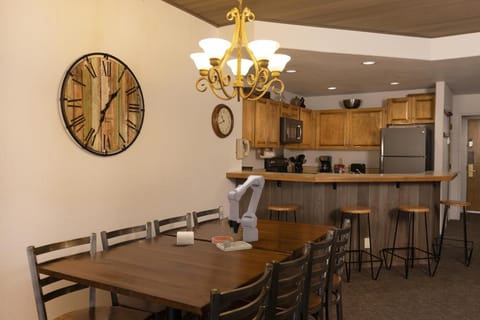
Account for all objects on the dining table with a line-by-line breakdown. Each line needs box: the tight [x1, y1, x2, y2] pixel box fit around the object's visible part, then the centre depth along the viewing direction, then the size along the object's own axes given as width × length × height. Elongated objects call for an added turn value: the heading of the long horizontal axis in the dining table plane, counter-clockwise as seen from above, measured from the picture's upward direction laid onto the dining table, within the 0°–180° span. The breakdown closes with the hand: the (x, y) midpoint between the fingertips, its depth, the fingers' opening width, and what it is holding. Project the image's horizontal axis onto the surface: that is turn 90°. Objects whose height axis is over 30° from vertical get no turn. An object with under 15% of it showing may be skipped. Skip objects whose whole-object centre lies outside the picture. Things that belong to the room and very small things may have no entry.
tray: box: [215, 240, 253, 252], centre depth 233 cm, size 18×13×2 cm
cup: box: [176, 231, 195, 246], centre depth 244 cm, size 8×12×10 cm
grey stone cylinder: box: [230, 227, 239, 235], centre depth 240 cm, size 4×4×4 cm
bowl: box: [211, 235, 234, 246], centre depth 245 cm, size 13×13×4 cm
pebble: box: [223, 241, 231, 248], centre depth 231 cm, size 4×4×4 cm
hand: (234, 232), depth 240 cm, fingers closed on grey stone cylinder, 4 cm apart
